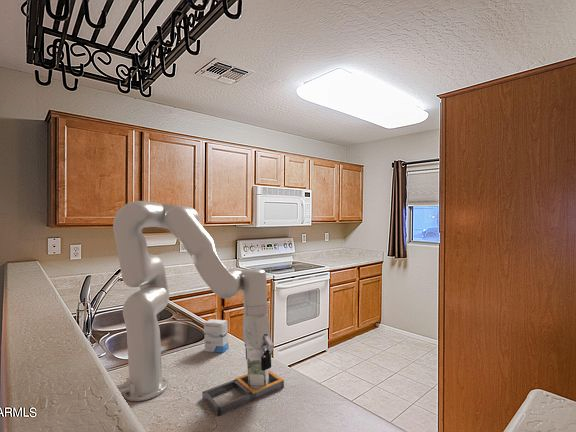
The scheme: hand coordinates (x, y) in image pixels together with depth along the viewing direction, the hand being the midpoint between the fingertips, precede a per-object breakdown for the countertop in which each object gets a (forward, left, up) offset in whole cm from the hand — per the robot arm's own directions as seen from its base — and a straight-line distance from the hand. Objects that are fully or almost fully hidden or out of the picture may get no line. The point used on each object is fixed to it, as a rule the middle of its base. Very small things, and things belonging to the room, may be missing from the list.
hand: (258, 363), depth 100 cm
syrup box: (0, 0, -7) cm, 7 cm away
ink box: (+2, +36, -7) cm, 37 cm away
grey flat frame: (-5, 0, -7) cm, 9 cm away
